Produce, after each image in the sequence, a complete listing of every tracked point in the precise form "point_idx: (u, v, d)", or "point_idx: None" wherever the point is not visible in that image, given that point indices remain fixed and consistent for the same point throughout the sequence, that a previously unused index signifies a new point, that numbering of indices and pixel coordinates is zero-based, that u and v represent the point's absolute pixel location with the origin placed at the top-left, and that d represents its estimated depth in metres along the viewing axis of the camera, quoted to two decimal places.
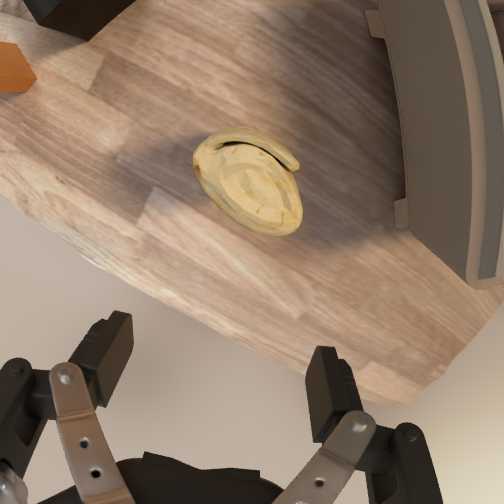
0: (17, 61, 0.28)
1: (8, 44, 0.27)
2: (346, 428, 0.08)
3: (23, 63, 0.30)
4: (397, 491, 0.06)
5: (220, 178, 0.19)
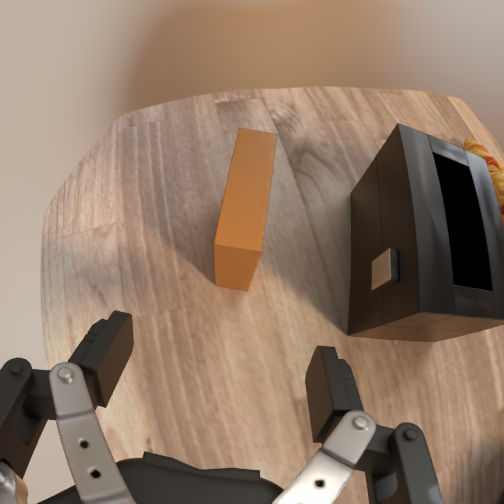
0: None
1: None
2: (346, 428, 0.08)
3: None
4: (397, 491, 0.06)
5: None
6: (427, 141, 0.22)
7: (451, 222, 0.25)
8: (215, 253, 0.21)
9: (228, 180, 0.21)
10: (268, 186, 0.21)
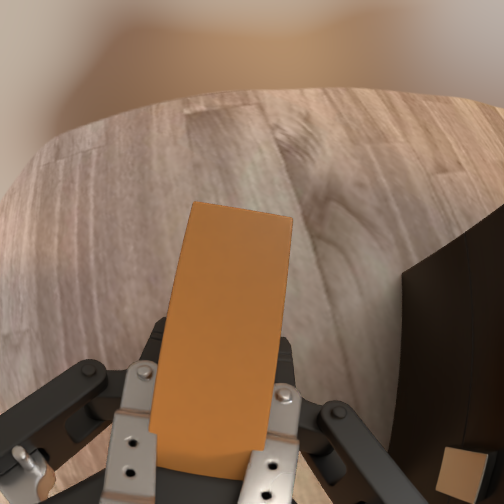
0: None
1: None
2: (272, 404, 0.09)
3: None
4: (348, 471, 0.07)
5: None
6: None
7: None
8: None
9: (159, 380, 0.07)
10: (267, 397, 0.07)
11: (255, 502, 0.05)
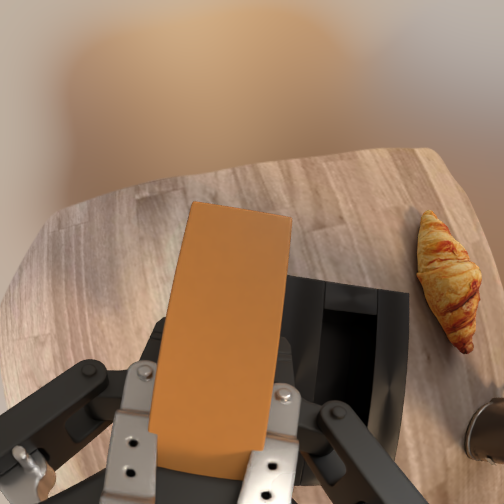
0: None
1: None
2: (272, 404, 0.09)
3: None
4: (348, 471, 0.07)
5: None
6: (321, 293, 0.23)
7: (352, 363, 0.25)
8: None
9: (158, 380, 0.07)
10: (266, 397, 0.07)
11: (255, 502, 0.05)
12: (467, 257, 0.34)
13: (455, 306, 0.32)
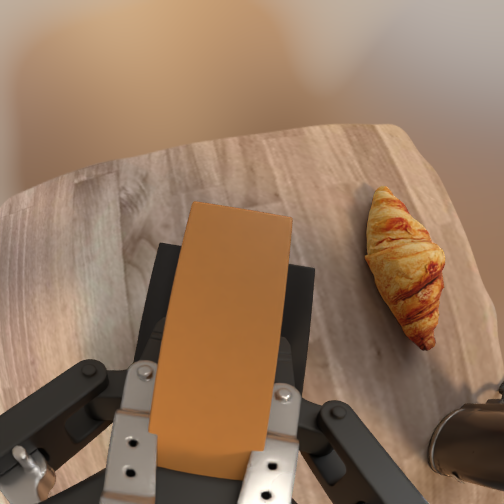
0: None
1: None
2: (272, 404, 0.09)
3: None
4: (348, 471, 0.07)
5: None
6: None
7: None
8: None
9: (158, 381, 0.07)
10: (267, 397, 0.07)
11: (255, 502, 0.05)
12: (427, 237, 0.32)
13: (407, 293, 0.29)
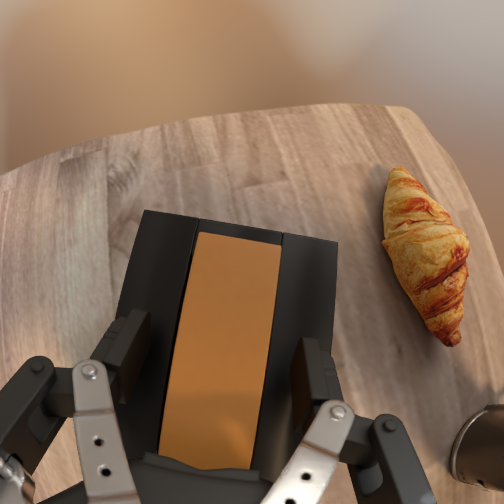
0: None
1: None
2: (324, 418, 0.08)
3: None
4: (383, 483, 0.07)
5: None
6: (190, 234, 0.16)
7: None
8: None
9: (172, 378, 0.09)
10: (258, 392, 0.09)
11: None
12: (449, 220, 0.28)
13: (432, 281, 0.25)
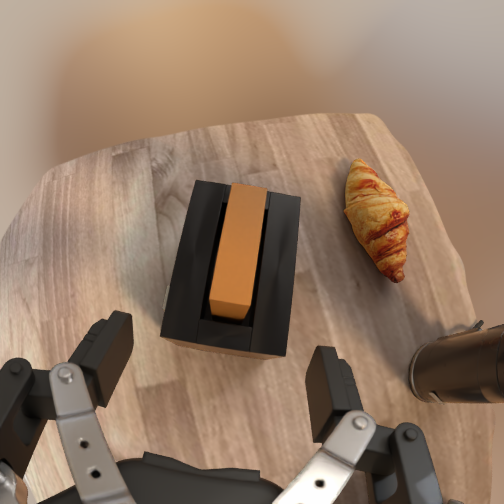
0: None
1: None
2: (346, 428, 0.08)
3: None
4: (397, 491, 0.06)
5: None
6: (221, 192, 0.31)
7: (258, 259, 0.33)
8: (210, 303, 0.23)
9: (222, 237, 0.24)
10: (257, 243, 0.24)
11: None
12: (393, 195, 0.42)
13: (377, 233, 0.39)
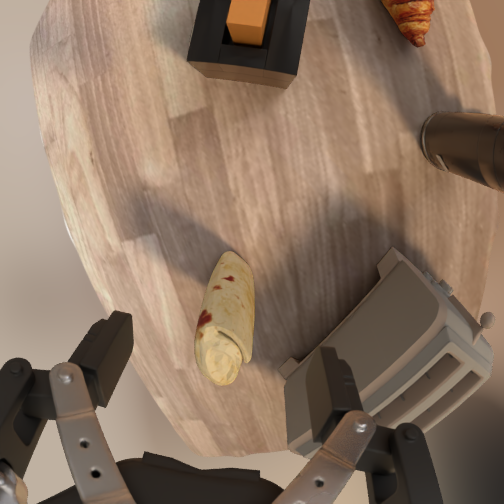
0: (268, 14, 0.25)
1: None
2: (346, 428, 0.08)
3: (267, 22, 0.27)
4: (397, 491, 0.06)
5: (208, 350, 0.30)
6: None
7: None
8: (229, 28, 0.22)
9: None
10: None
11: None
12: None
13: None
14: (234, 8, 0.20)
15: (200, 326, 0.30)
